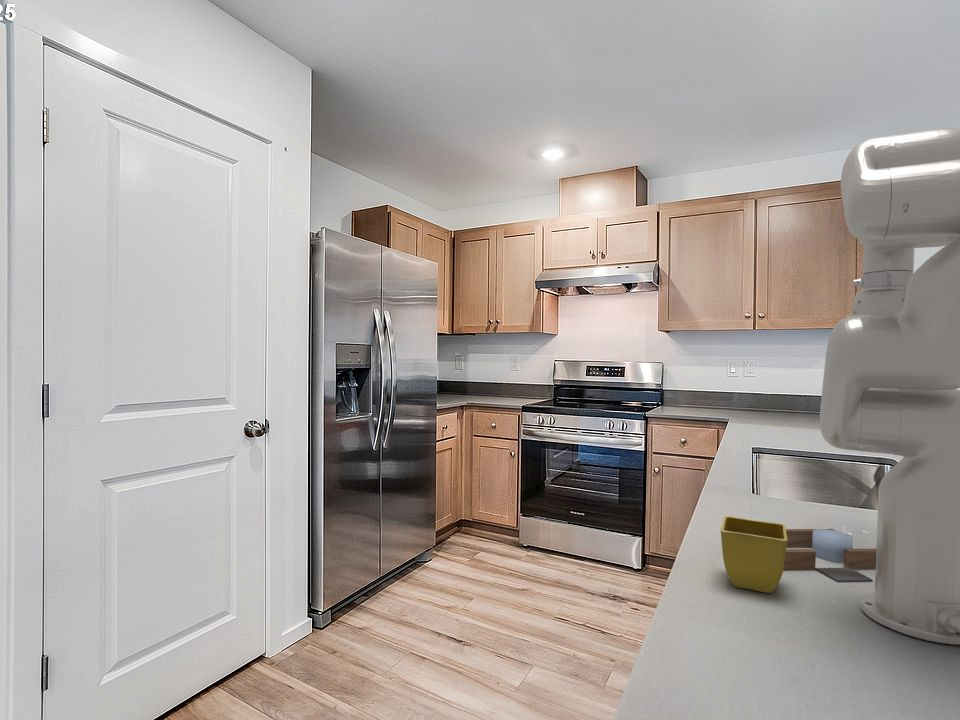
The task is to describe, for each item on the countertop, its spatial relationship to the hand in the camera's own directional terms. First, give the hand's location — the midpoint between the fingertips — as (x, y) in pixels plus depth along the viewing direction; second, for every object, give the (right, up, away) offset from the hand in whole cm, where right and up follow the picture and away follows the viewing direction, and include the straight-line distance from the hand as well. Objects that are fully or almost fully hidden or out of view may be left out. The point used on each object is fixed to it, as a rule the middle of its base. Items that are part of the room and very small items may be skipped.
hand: (883, 375), depth 100 cm
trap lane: (-18, -32, -5) cm, 37 cm away
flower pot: (-33, -32, -17) cm, 49 cm away
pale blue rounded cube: (-12, -32, -4) cm, 35 cm away
